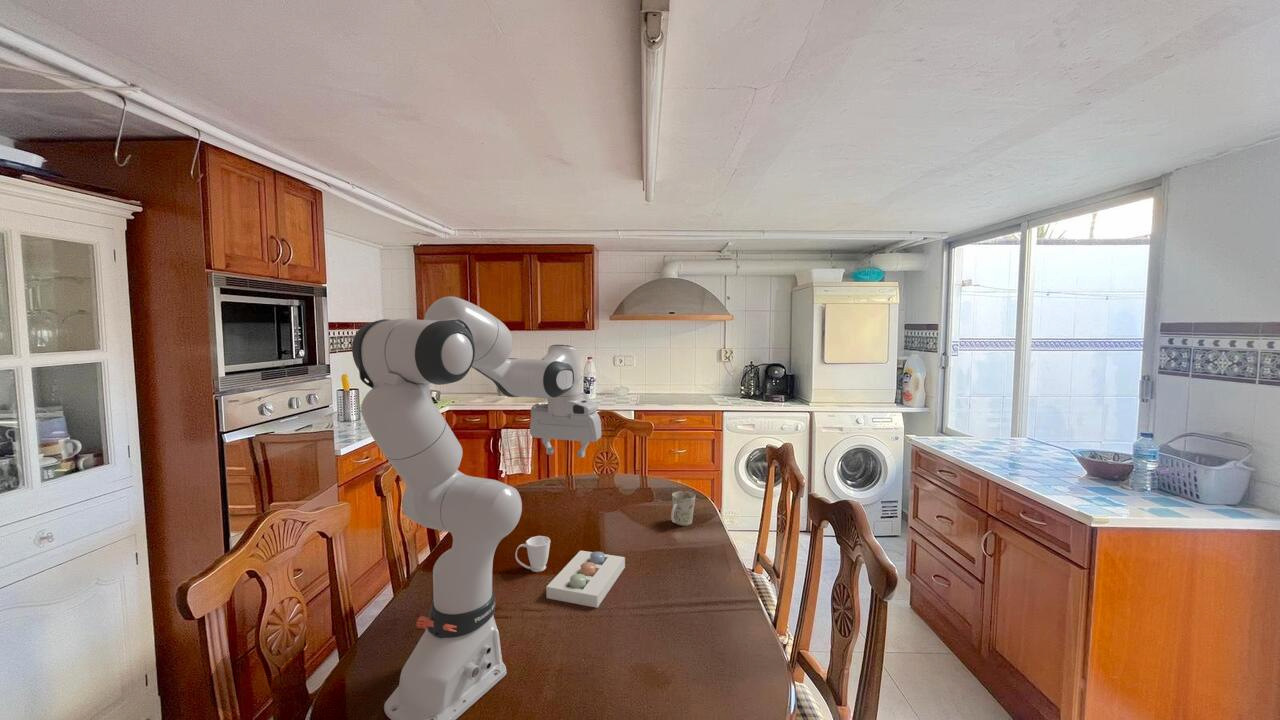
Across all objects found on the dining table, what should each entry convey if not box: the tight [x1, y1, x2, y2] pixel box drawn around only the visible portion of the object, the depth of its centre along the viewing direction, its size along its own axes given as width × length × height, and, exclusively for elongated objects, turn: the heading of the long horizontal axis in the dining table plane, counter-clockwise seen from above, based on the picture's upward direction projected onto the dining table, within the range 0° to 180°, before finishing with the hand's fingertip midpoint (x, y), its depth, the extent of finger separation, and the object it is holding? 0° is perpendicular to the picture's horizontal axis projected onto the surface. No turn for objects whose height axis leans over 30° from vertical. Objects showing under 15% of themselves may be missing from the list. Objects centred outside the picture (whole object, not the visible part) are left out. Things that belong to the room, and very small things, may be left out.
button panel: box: [545, 550, 626, 608], centre depth 126 cm, size 21×14×3 cm
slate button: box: [590, 551, 605, 565], centre depth 132 cm, size 4×4×3 cm
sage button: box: [570, 574, 586, 590], centre depth 120 cm, size 4×4×3 cm
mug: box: [670, 490, 696, 527], centre depth 164 cm, size 8×13×10 cm, turn 148°
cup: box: [514, 535, 551, 573], centre depth 133 cm, size 7×10×8 cm
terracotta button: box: [581, 562, 595, 577], centre depth 126 cm, size 4×4×3 cm
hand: (565, 455), depth 126 cm, fingers open, 8 cm apart
